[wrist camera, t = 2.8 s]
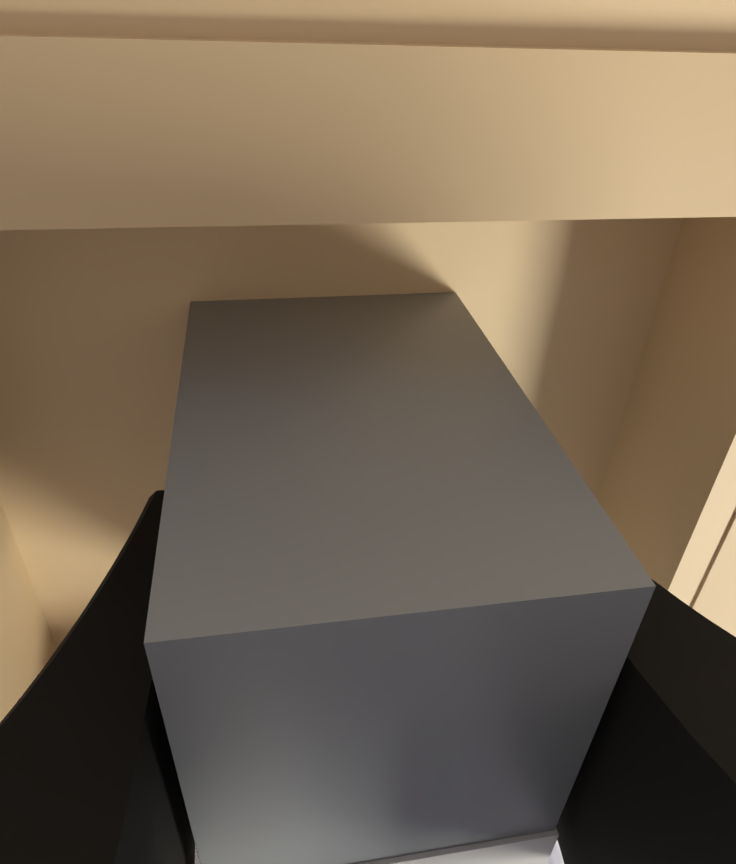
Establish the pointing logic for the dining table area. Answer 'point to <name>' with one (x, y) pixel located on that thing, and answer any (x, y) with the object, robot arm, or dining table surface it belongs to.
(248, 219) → the tan wooden shallow tray
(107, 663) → the robot arm
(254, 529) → the grey box
